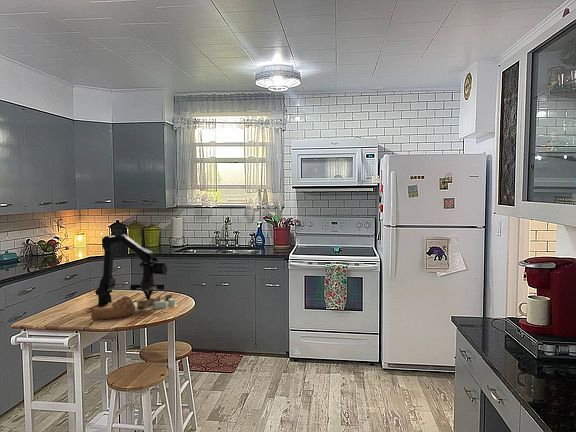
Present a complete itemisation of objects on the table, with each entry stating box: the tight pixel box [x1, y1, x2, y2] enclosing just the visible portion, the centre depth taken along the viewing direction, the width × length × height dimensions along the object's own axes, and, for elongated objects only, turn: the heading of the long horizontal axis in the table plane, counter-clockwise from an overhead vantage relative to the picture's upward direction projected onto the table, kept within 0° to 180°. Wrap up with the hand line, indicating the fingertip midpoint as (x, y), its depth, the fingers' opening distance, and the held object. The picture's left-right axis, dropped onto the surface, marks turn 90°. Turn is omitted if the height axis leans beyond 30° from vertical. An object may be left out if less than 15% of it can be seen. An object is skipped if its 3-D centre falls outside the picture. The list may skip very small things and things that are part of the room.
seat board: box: [133, 293, 179, 312], centre depth 264 cm, size 23×21×4 cm
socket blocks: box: [154, 297, 176, 310], centre depth 259 cm, size 11×7×3 cm, turn 114°
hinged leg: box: [136, 296, 161, 309], centre depth 261 cm, size 16×4×4 cm, turn 158°
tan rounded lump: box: [90, 295, 136, 322], centre depth 240 cm, size 19×11×15 cm
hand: (148, 301), depth 265 cm, fingers closed
